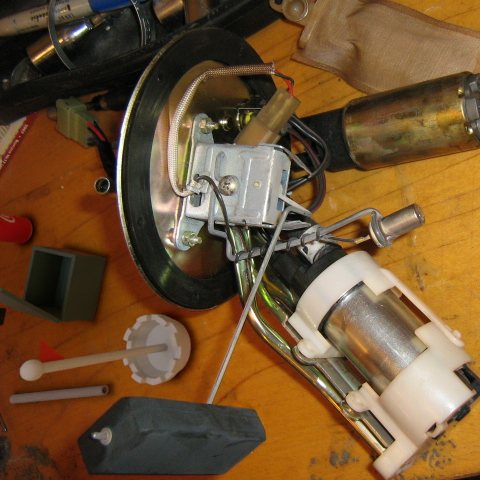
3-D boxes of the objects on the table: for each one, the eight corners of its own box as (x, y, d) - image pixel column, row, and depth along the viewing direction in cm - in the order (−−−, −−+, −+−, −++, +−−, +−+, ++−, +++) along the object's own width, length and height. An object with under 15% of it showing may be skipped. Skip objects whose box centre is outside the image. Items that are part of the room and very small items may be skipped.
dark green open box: (65, 248, 104) (32, 245, 97) (106, 257, 100) (75, 255, 92) (53, 307, 104) (20, 309, 97) (94, 319, 99) (62, 322, 92)
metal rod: (109, 393, 96) (101, 395, 94) (18, 402, 105) (9, 404, 103) (108, 384, 96) (100, 386, 94) (17, 393, 105) (9, 395, 103)
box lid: (-43, 275, 85) (-64, 302, 82) (2, 288, 80) (-19, 317, 77) (19, 307, 96) (2, 332, 94) (61, 320, 92) (44, 346, 89)
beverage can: (27, 212, 110) (-26, 203, 99) (38, 230, 108) (-15, 224, 97) (12, 230, 111) (-42, 224, 100) (23, 249, 109) (-31, 244, 98)
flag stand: (206, 351, 88) (71, 380, 60) (163, 394, 91) (14, 440, 63) (171, 299, 92) (29, 304, 64) (131, 341, 95) (-22, 363, 67)
